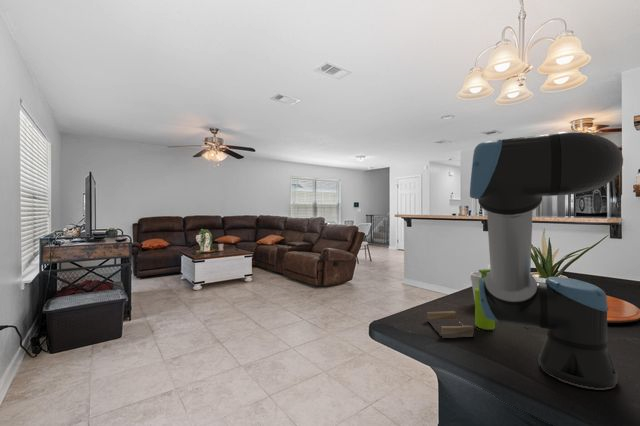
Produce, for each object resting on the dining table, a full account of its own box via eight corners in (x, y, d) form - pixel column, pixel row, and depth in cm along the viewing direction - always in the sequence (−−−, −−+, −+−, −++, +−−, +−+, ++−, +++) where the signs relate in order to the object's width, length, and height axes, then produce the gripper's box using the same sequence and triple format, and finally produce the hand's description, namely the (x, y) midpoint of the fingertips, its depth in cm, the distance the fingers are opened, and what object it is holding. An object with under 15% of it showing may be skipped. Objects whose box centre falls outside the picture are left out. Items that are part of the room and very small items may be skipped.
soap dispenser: (501, 330, 102) (500, 271, 101) (480, 331, 102) (479, 272, 101) (492, 323, 108) (491, 267, 107) (472, 324, 108) (471, 268, 107)
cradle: (473, 337, 98) (473, 326, 98) (442, 339, 98) (442, 328, 98) (454, 320, 112) (454, 310, 112) (427, 321, 112) (426, 312, 112)
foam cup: (465, 304, 128) (465, 273, 127) (481, 300, 131) (480, 270, 131) (486, 311, 119) (486, 278, 118) (502, 307, 123) (501, 275, 122)
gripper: (522, 203, 107) (523, 270, 108) (485, 205, 107) (486, 271, 108) (538, 204, 100) (538, 275, 101) (498, 206, 100) (499, 277, 101)
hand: (511, 273), depth 105 cm, fingers closed
